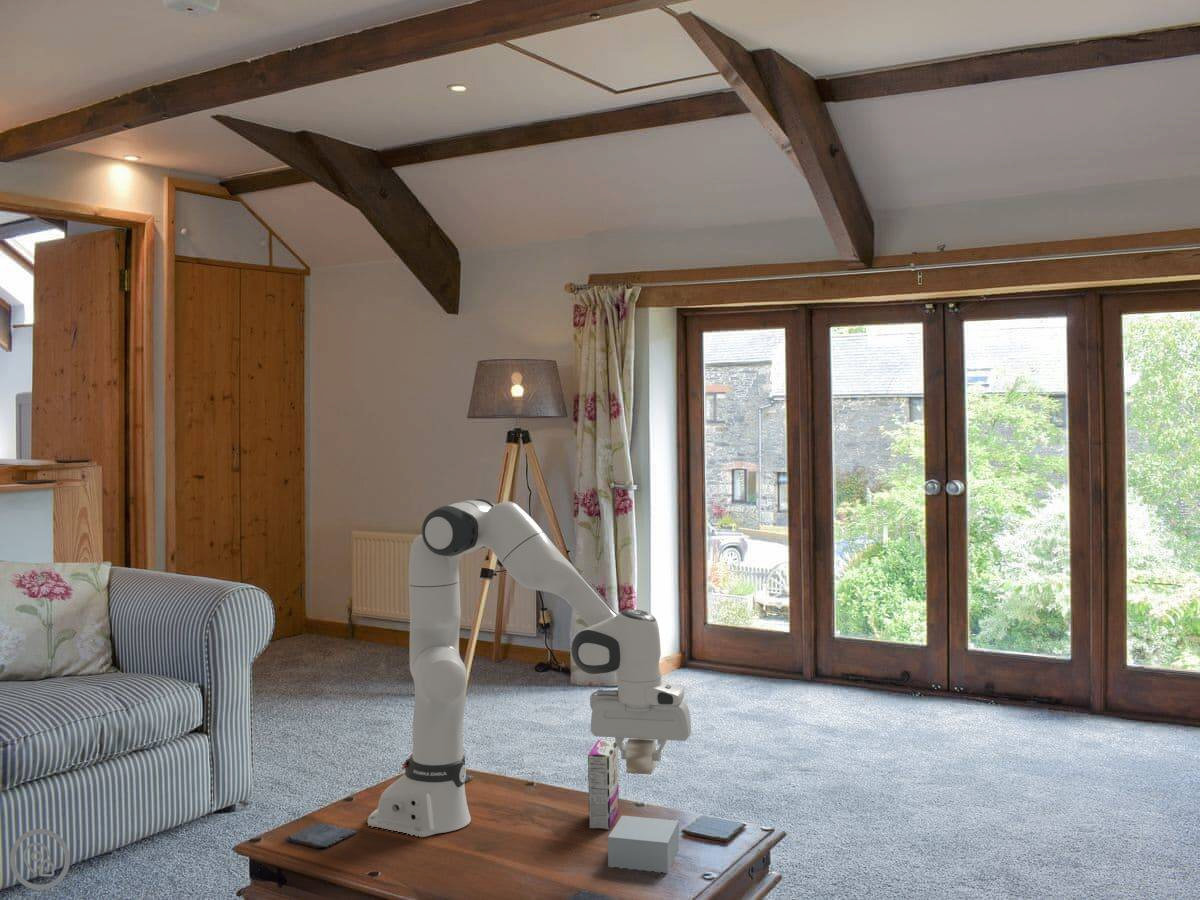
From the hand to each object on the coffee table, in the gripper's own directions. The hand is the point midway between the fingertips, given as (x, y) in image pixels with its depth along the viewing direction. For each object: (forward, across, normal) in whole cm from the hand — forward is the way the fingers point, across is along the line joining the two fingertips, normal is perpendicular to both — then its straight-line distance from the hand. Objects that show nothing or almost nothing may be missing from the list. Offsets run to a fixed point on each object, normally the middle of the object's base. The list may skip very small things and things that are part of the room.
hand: (641, 759), depth 219 cm
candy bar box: (+20, -13, +18) cm, 30 cm away
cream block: (+2, 0, 0) cm, 2 cm away
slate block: (+20, 0, 0) cm, 20 cm away
